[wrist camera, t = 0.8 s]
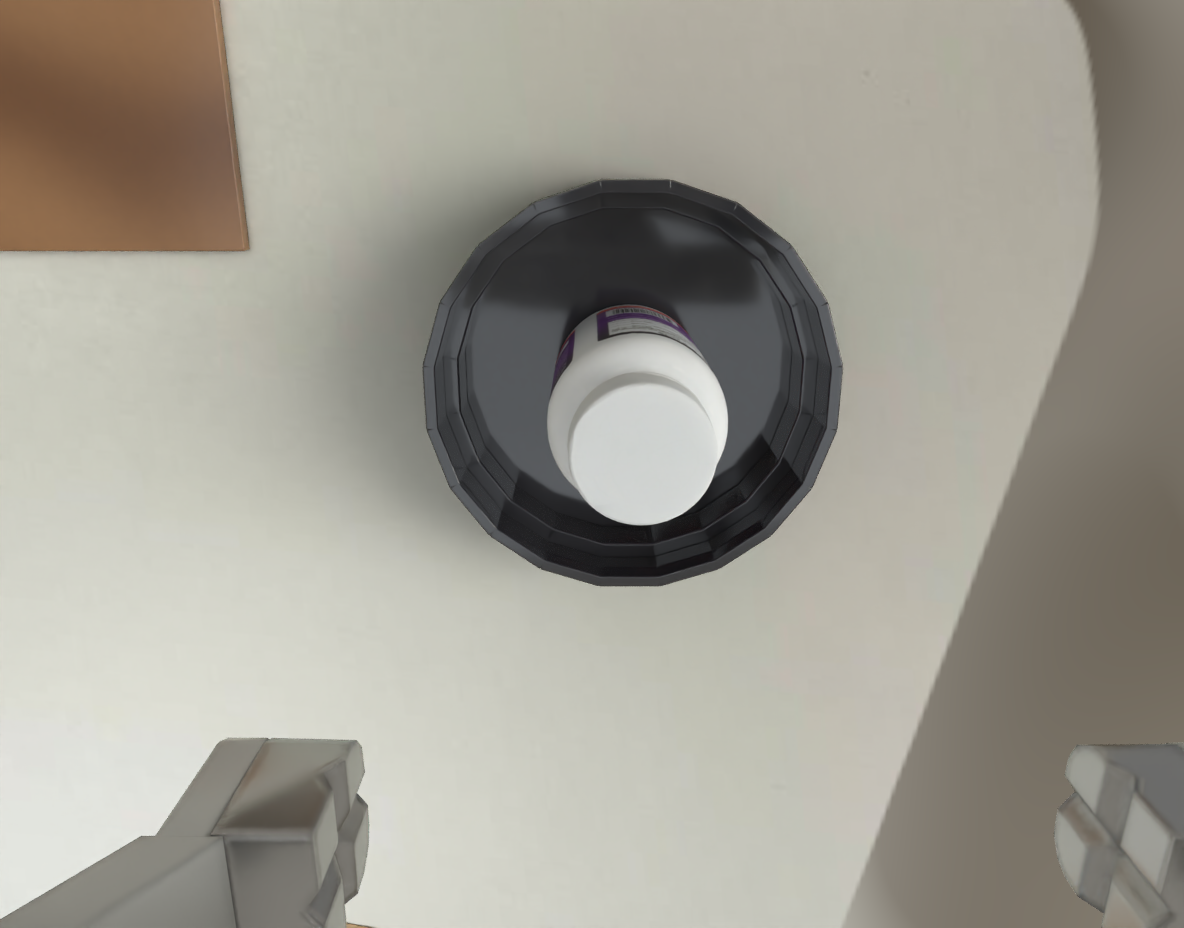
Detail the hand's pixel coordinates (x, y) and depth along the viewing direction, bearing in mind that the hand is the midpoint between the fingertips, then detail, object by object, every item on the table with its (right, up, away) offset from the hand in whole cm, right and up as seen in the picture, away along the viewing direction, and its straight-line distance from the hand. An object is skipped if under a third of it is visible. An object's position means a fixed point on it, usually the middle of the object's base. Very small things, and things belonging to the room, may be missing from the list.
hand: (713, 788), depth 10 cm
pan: (0, +7, +22) cm, 23 cm away
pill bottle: (0, +7, +22) cm, 23 cm away
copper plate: (-18, +16, +19) cm, 31 cm away
